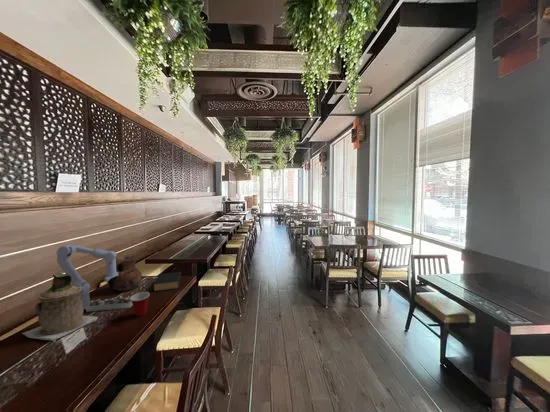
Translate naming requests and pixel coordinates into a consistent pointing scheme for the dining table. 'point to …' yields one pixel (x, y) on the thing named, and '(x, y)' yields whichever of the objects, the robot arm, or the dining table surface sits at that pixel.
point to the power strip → (109, 305)
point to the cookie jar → (59, 310)
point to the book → (167, 281)
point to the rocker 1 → (95, 301)
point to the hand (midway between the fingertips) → (112, 288)
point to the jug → (127, 274)
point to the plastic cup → (140, 303)
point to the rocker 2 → (109, 300)
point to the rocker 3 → (123, 298)
